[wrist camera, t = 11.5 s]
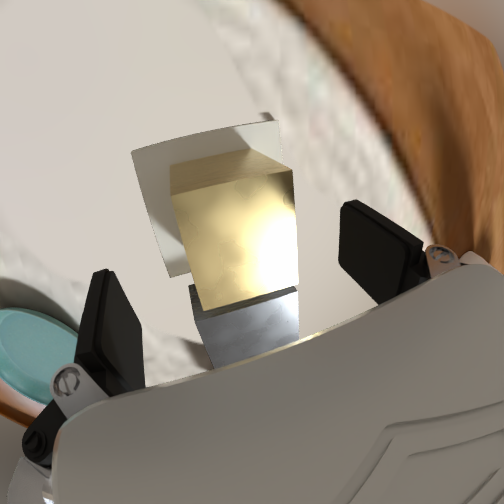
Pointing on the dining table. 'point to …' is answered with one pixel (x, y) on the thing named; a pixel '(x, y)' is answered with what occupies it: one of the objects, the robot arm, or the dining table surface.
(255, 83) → the dining table surface
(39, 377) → the saucer
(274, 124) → the mat
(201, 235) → the gold block
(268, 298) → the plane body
